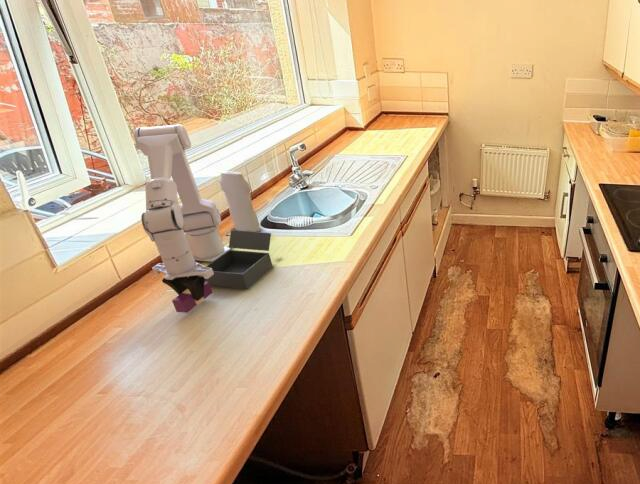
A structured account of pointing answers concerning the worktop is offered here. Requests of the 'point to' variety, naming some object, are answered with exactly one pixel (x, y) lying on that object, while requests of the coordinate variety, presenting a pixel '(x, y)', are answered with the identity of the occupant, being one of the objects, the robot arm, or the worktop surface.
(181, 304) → the chocolate
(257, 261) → the carton
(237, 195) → the tall pale column
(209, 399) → the worktop surface
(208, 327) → the worktop surface
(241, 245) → the flap
